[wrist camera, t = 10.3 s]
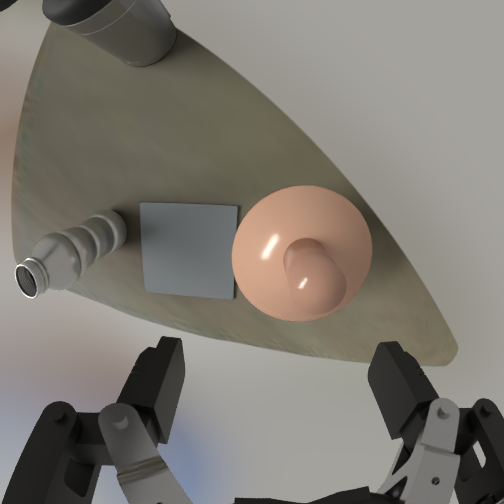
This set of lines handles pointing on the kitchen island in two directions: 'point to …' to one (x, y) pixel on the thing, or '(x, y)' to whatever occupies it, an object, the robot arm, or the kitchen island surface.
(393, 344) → the robot arm
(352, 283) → the lid
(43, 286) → the plastic bottle
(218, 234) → the mat
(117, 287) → the kitchen island surface
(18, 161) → the kitchen island surface
